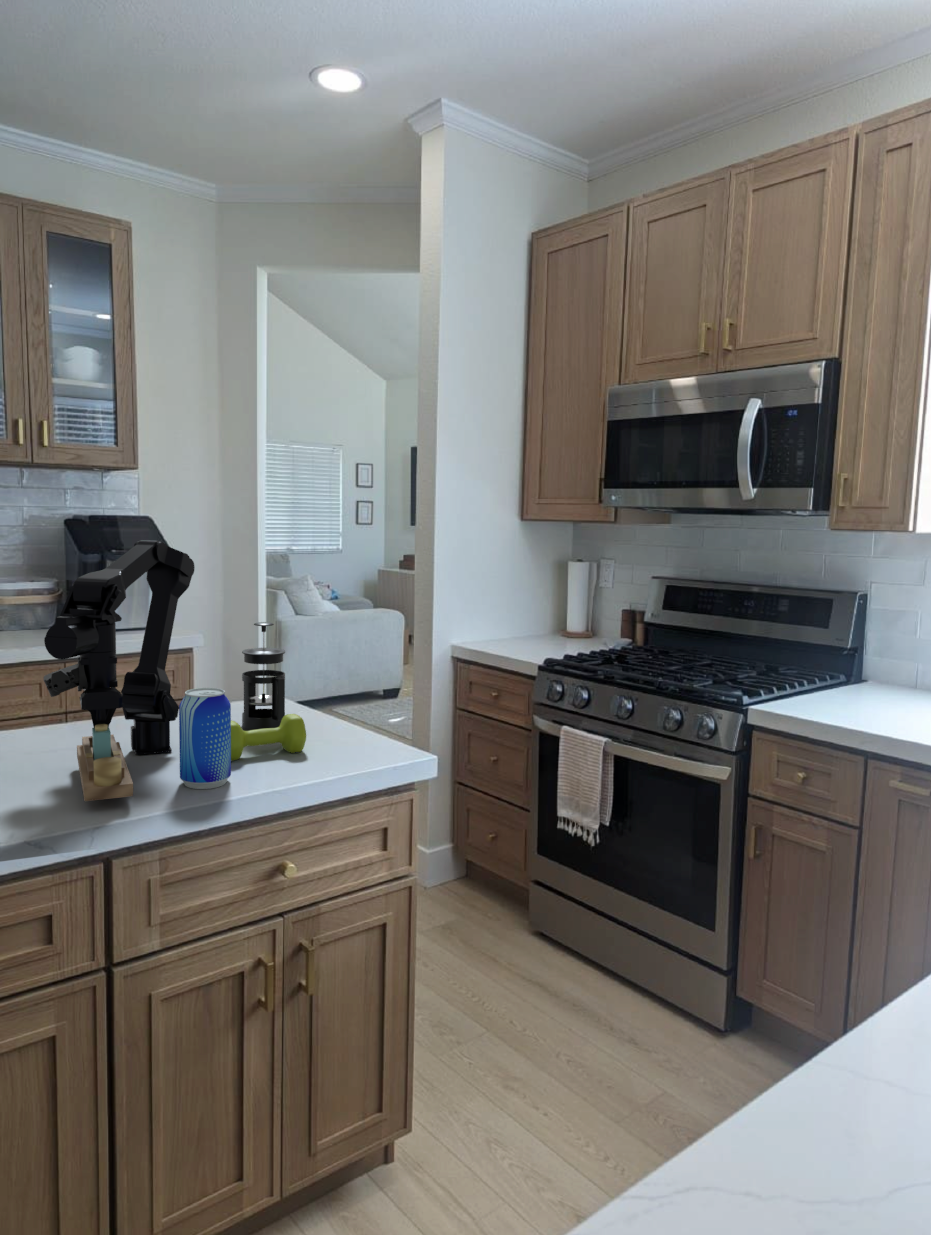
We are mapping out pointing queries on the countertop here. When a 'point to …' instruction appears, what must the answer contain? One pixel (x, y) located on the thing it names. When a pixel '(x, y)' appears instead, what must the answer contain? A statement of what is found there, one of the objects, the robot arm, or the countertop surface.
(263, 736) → the dumbbell
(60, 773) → the countertop surface
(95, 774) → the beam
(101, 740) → the block
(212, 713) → the beer can
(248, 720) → the french press
